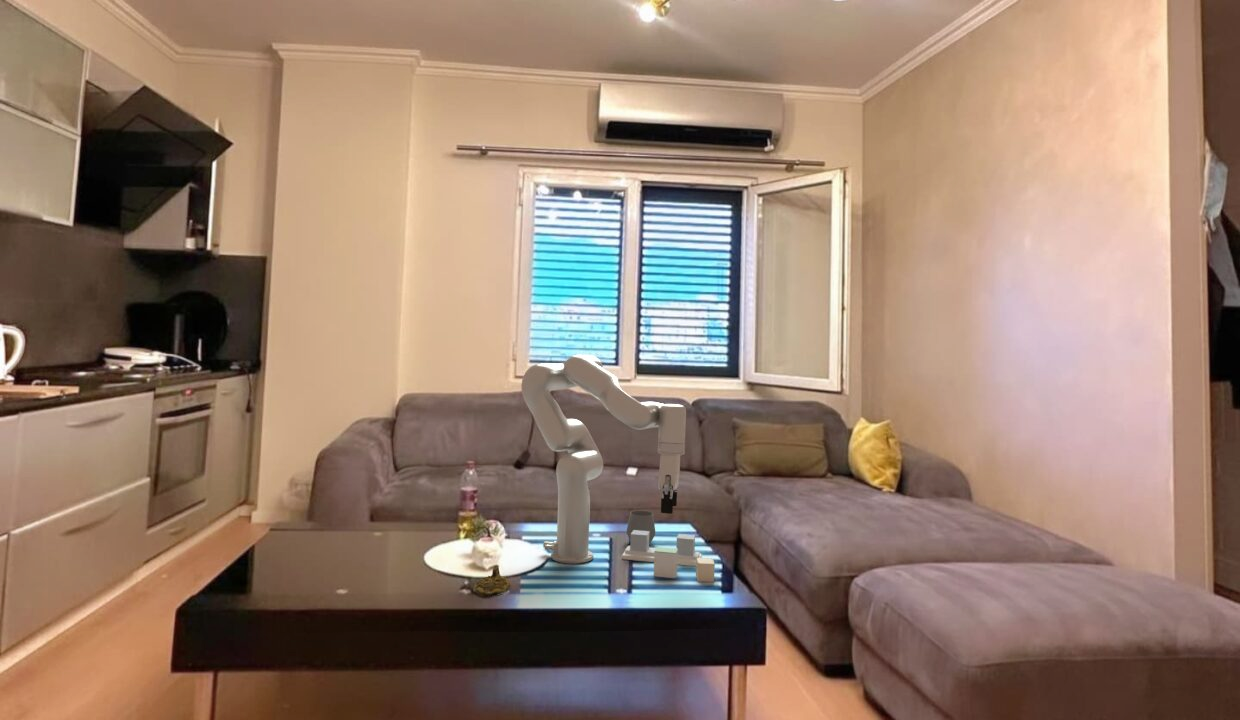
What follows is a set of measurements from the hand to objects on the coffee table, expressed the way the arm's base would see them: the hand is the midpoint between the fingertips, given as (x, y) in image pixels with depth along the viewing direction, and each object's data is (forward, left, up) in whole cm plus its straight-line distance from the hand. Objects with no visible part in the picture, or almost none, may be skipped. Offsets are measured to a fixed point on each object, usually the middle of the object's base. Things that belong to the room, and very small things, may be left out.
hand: (668, 509), depth 190 cm
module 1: (0, 0, -18) cm, 18 cm away
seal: (-42, -24, -19) cm, 52 cm away
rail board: (-3, +15, -18) cm, 24 cm away
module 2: (+11, 0, -18) cm, 21 cm away
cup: (-12, +29, -19) cm, 36 cm away
